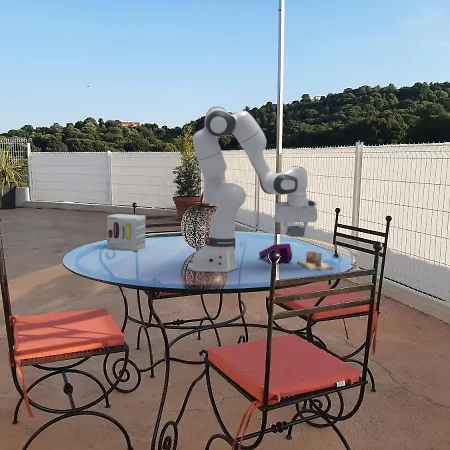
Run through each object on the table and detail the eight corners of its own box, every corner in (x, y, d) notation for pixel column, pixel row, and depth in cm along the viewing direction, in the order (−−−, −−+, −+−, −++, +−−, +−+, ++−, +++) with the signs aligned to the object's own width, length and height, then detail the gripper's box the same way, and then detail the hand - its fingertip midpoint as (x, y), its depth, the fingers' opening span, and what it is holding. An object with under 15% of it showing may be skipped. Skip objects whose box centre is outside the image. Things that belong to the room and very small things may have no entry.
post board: (308, 270, 210) (309, 254, 209) (296, 263, 223) (297, 249, 222) (332, 269, 213) (333, 254, 212) (319, 263, 226) (320, 248, 225)
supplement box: (106, 249, 246) (105, 215, 243) (117, 245, 258) (117, 213, 256) (135, 251, 242) (136, 217, 239) (145, 247, 254) (146, 215, 252)
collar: (290, 236, 207) (291, 228, 206) (285, 234, 213) (286, 226, 213) (304, 236, 208) (304, 228, 208) (298, 234, 215) (299, 225, 214)
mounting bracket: (258, 270, 233) (277, 261, 218) (255, 254, 236) (273, 244, 220) (274, 268, 238) (293, 260, 223) (270, 253, 240) (289, 243, 225)
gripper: (277, 202, 203) (276, 233, 205) (319, 202, 208) (318, 232, 210) (272, 201, 209) (271, 231, 211) (313, 201, 214) (312, 230, 216)
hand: (295, 231), depth 211 cm, fingers closed on collar, 6 cm apart
